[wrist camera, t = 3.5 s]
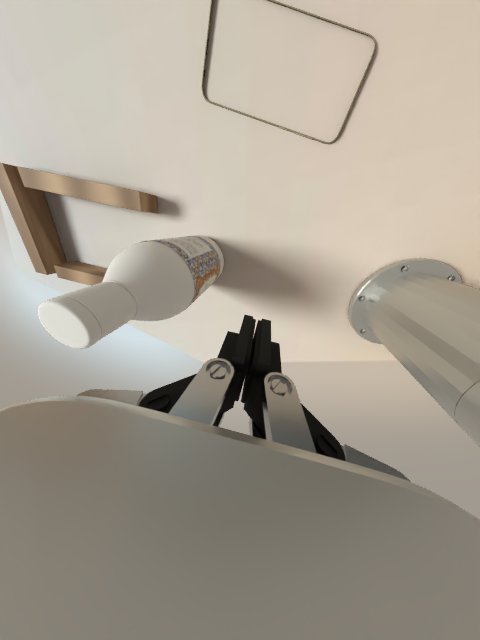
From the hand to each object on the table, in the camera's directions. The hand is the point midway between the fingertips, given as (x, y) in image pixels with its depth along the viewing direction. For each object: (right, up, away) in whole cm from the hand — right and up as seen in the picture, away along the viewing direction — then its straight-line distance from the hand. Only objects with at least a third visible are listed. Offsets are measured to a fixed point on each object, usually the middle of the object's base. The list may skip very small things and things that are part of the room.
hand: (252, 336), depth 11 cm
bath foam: (-6, +10, +15) cm, 19 cm away
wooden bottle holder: (-23, +14, +16) cm, 31 cm away
